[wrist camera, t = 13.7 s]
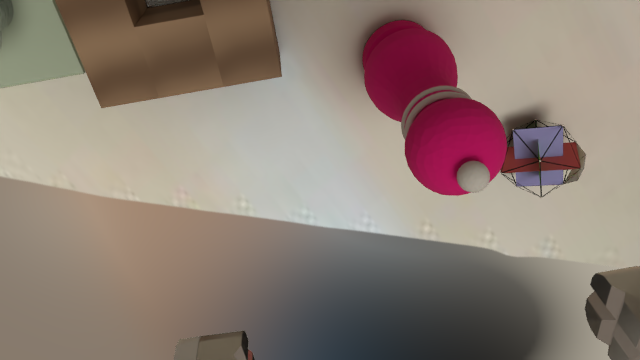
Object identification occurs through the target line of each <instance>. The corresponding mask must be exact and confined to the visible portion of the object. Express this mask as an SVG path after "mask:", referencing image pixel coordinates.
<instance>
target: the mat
mask: <svg viewBox="0 0 640 360" xmlns="http://www.w3.org/2000/svg"><path fill="white" fill-rule="evenodd" d="M11 1H12V4H13V9H14V15H13V19H12V21H11V23H10V24H9V25H8V26H7V27H6V28H5V29H3V30H2V31H1V32H2V46H1V50H0V88H4V87H10V86H16V85H21V84H27V83H33V82H38V81H44V80H50V79H55V78H61V77H67V76H72V75H78V74H84V73H85V69H84V66H83V64H82V62H81V60H80V57H79V55H78V53H77V50H76V48H75V46H74V43H73V41H72V39H71V36H70V34H69V32H68V29H67V27H66V25H65V23H64V20H63V18H62V16H61V13H60V11H59V9H58V6H57V4H56V2H55V0H11Z"/></svg>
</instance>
